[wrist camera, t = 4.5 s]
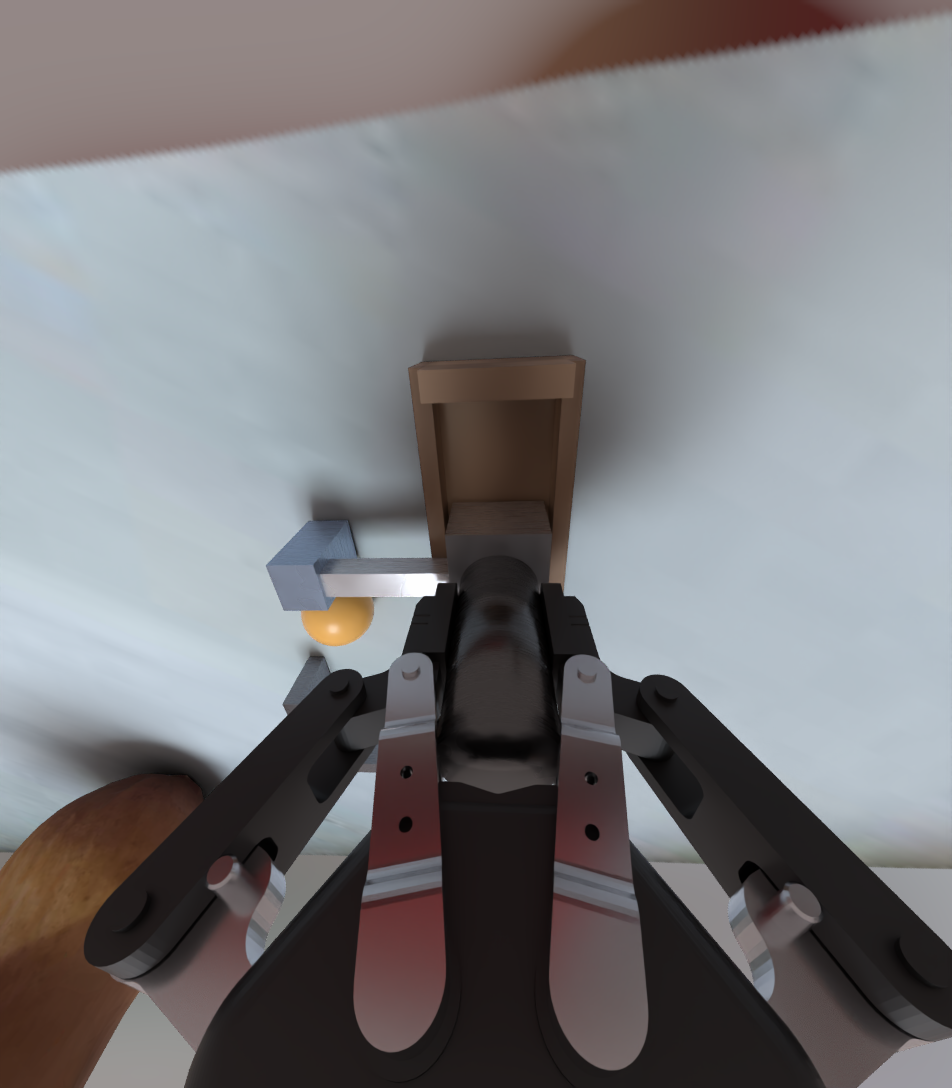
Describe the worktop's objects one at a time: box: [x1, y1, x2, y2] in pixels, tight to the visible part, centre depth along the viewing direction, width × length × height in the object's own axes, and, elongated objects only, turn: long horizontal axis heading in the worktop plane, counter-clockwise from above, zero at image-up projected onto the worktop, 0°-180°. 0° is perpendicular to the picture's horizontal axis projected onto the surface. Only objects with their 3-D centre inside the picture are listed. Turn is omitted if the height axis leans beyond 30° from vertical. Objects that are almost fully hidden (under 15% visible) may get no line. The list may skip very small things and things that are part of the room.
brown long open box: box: [408, 355, 586, 590], centre depth 18 cm, size 6×20×4 cm, turn 2°
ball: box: [301, 597, 374, 646], centre depth 19 cm, size 4×4×4 cm
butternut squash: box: [0, 773, 204, 1088], centre depth 23 cm, size 14×13×25 cm
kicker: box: [266, 501, 560, 794], centre depth 14 cm, size 12×5×11 cm, turn 93°
